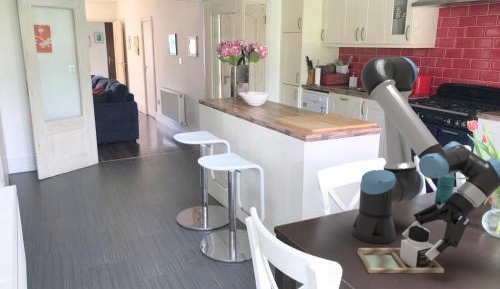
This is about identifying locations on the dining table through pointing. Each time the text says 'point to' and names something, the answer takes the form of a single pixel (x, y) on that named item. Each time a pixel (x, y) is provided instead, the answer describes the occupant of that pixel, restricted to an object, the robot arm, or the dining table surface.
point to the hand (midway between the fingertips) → (415, 246)
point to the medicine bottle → (416, 248)
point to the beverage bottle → (444, 188)
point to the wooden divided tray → (390, 262)
